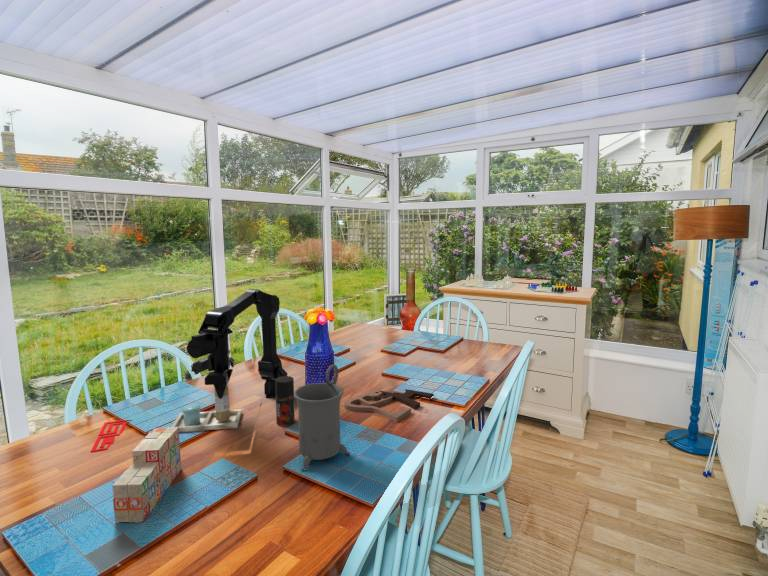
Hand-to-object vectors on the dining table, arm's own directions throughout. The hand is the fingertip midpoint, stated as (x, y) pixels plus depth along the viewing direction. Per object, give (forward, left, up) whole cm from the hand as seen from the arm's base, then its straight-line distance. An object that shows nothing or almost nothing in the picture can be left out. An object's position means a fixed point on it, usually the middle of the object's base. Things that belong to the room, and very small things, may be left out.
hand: (221, 395), depth 140 cm
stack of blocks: (+11, +36, -10) cm, 39 cm away
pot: (+10, 0, -9) cm, 13 cm away
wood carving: (-57, -8, -11) cm, 59 cm away
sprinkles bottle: (0, 0, -8) cm, 8 cm away
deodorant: (-20, +2, -10) cm, 23 cm away
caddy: (+5, 0, -10) cm, 11 cm away
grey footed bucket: (-31, +25, -10) cm, 41 cm away
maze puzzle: (+27, 0, -11) cm, 29 cm away
